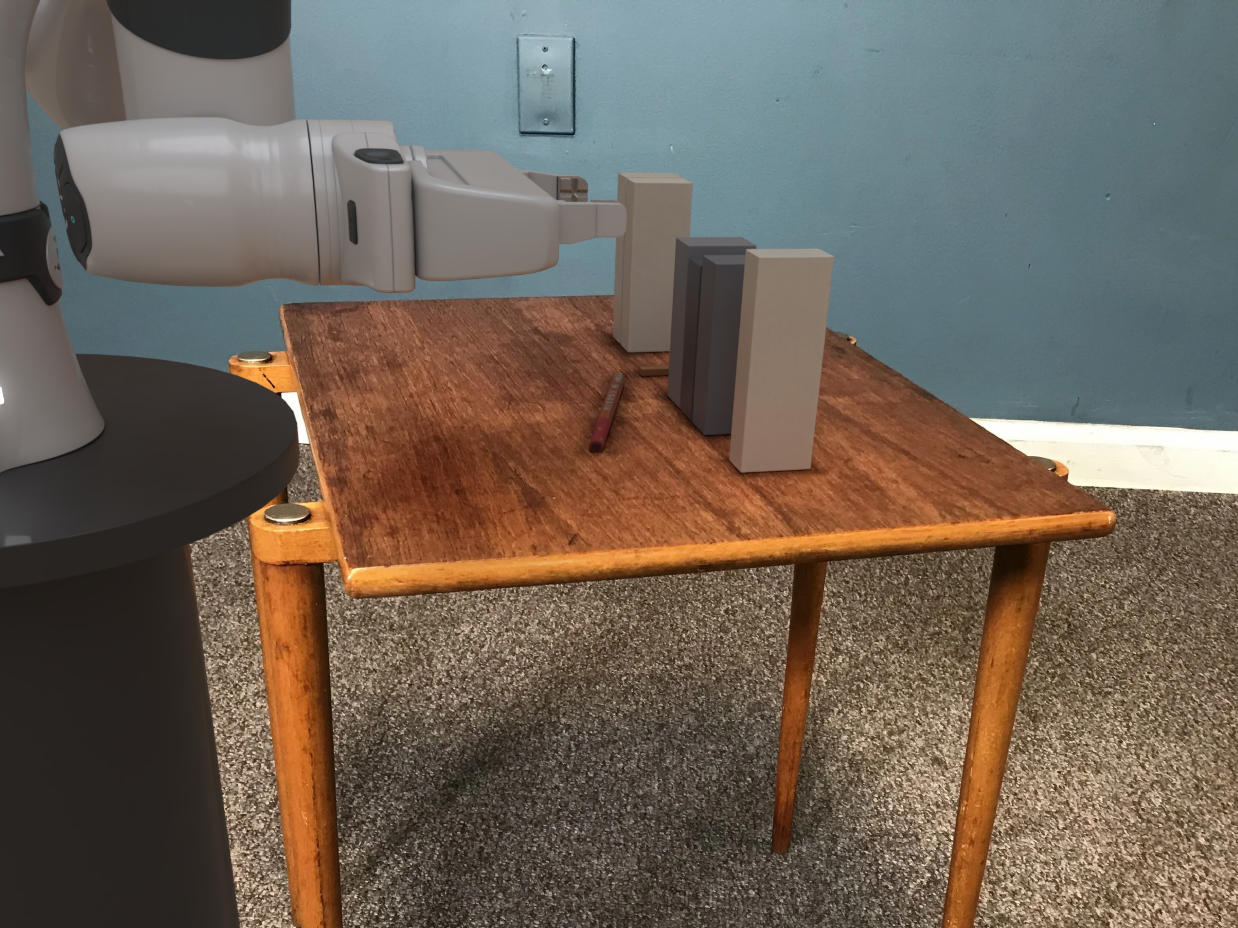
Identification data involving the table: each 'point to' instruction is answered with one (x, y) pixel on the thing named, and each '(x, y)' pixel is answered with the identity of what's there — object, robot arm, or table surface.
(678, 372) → the grey books
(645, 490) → the table surface
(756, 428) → the white book
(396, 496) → the table surface
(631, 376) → the table surface
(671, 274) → the white books
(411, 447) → the table surface
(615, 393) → the pencil
